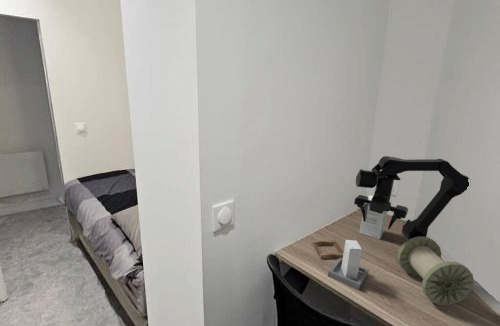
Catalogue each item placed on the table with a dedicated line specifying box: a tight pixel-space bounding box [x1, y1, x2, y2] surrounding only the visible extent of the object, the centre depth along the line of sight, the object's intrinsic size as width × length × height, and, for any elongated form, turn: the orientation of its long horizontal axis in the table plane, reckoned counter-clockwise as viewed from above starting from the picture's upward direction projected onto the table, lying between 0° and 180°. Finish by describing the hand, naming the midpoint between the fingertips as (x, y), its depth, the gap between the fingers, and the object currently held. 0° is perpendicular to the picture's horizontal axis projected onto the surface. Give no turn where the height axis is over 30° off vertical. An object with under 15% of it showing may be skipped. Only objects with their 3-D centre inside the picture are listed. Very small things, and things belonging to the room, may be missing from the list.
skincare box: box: [341, 239, 363, 279], centre depth 99 cm, size 6×4×12 cm
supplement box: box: [359, 195, 388, 240], centre depth 130 cm, size 10×9×17 cm
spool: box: [396, 236, 475, 306], centre depth 94 cm, size 16×15×15 cm
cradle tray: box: [327, 258, 370, 291], centre depth 100 cm, size 11×11×2 cm
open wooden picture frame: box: [311, 240, 344, 260], centre depth 115 cm, size 10×10×2 cm
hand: (376, 225), depth 111 cm, fingers open, 9 cm apart
